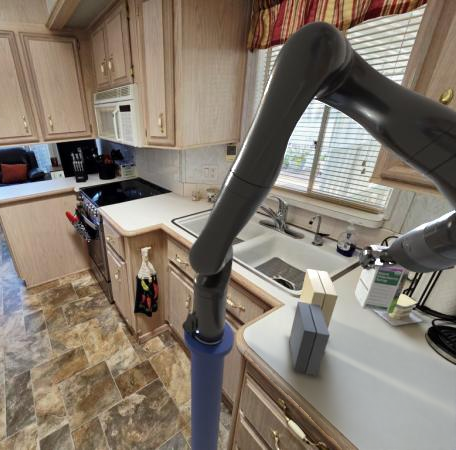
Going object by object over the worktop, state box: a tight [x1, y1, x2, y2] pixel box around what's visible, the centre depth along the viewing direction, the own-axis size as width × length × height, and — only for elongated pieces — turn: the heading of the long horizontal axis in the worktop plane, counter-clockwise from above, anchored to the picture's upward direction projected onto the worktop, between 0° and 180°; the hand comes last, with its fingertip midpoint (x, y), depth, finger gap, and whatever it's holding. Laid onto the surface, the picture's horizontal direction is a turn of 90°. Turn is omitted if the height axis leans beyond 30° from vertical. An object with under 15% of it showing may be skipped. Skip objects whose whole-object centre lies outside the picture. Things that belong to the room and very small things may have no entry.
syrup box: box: [354, 244, 411, 313], centre depth 57 cm, size 6×6×14 cm
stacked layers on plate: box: [372, 293, 423, 327], centre depth 77 cm, size 10×9×6 cm
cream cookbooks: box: [298, 268, 339, 330], centre depth 73 cm, size 5×11×16 cm, turn 160°
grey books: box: [288, 301, 330, 377], centre depth 63 cm, size 5×10×14 cm, turn 160°
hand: (381, 267), depth 57 cm, fingers closed on syrup box, 5 cm apart
